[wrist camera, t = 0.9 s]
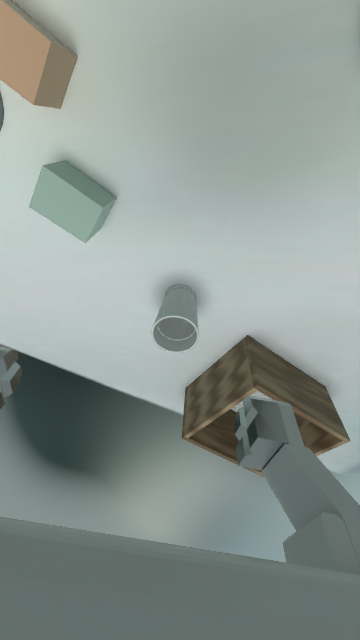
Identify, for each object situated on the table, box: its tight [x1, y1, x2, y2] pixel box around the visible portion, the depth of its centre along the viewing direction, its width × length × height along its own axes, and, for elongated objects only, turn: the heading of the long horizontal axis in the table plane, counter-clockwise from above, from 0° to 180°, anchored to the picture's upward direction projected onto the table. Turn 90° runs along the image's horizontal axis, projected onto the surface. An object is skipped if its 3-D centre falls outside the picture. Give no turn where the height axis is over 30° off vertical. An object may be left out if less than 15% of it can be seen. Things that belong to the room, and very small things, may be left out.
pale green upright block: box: [29, 161, 117, 243], centre depth 41 cm, size 6×9×7 cm
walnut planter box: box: [182, 335, 350, 477], centre depth 62 cm, size 23×26×14 cm
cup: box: [151, 285, 199, 353], centre depth 49 cm, size 8×8×12 cm
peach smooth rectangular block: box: [0, 0, 77, 109], centre depth 32 cm, size 6×9×7 cm
